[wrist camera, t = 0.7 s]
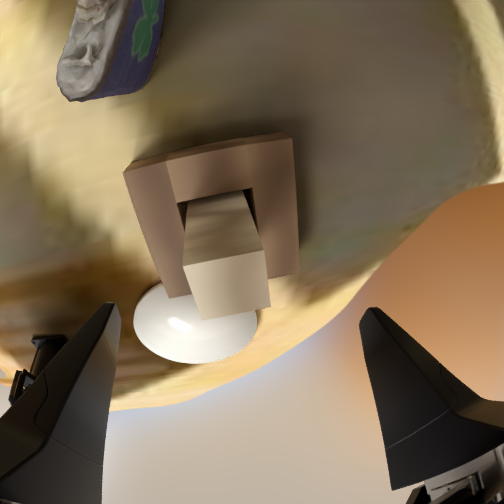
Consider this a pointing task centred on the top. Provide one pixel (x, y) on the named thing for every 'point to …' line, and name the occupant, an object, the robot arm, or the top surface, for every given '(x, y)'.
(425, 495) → the robot arm
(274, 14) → the top surface
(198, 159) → the holder
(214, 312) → the block
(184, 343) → the plate
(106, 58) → the flask
